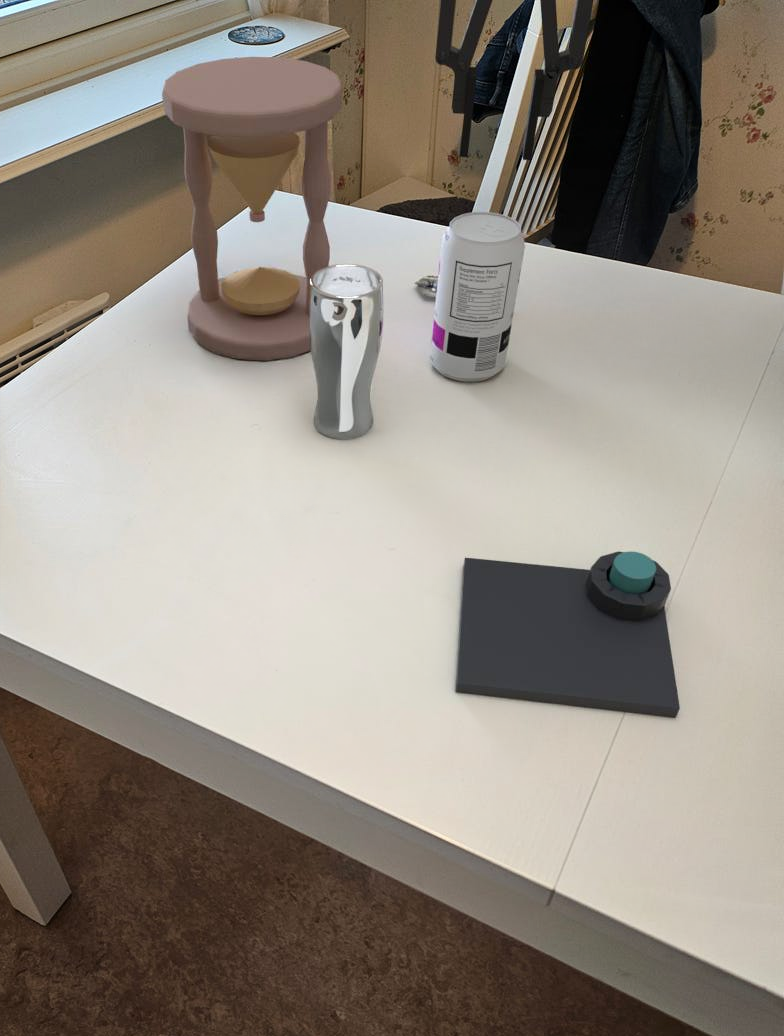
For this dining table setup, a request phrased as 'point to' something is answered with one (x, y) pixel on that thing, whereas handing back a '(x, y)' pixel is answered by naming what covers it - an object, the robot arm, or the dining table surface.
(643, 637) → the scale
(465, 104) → the robot arm
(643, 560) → the tare button
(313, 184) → the hourglass
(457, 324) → the supplement can
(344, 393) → the beer glass
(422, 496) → the dining table surface
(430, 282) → the blueberries
